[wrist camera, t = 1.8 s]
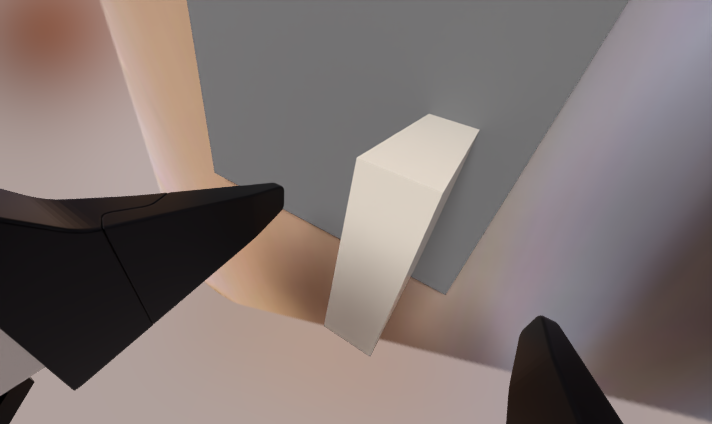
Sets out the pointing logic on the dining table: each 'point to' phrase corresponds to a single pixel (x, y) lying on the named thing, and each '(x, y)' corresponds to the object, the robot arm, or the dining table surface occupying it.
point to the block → (392, 223)
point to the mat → (388, 95)
